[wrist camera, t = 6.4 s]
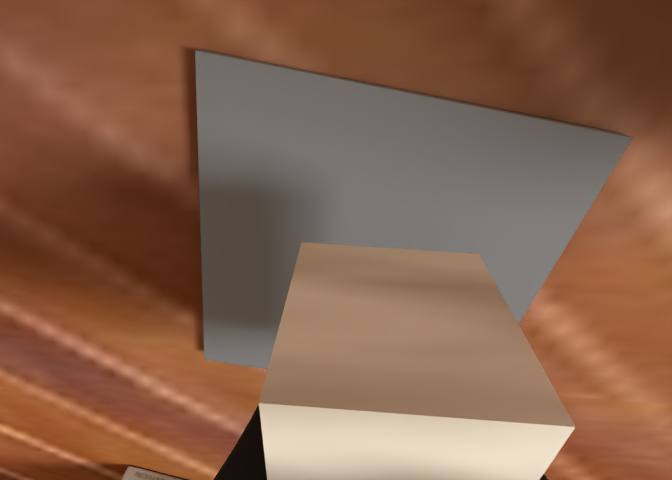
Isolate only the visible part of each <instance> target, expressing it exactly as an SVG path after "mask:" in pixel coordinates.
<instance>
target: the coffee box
mask: <svg viewBox="0 0 672 480" xmlns="http://www.w3.org/2000/svg"><path fill="white" fill-rule="evenodd" d="M121 480H183V479H180V478H176V477H172V476H168V475H164V474H160V473H157V472H153V471H149V470H145V469H141V468H137V467H133V466H128V468H127V469H126V471H125V473H124V475H123V477H122V478H121Z"/></svg>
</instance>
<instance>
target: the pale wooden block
mask: <svg viewBox="0 0 672 480" xmlns="http://www.w3.org/2000/svg"><path fill="white" fill-rule="evenodd" d="M259 410H260V419H261V428H262V437H263V446H264V455H265V464H266V473H267V480H540V478H541V477H542V475H543V474H544V472H545V471H546V470H547V468H548V467H549V465H550V464H551V462H552V461H553V459H554V458H555V456H556V455H557V453H558V452H559V450H560V449H561V447H562V446H563V445H564V443H565V442H566V440H567V439H568V437H569V436H570V434H571V433H572V431H573V430H574V428H575V426H574V424H573V422H572V420H571V418H570V417H569V415H568V413H567V411H566V409H565V408H564V406H563V404H562V402H561V400H560V399H559V397H558V395H557V393H556V391H555V390H554V388H553V386H552V384H551V382H550V381H549V379H548V377H547V375H546V373H545V372H544V370H543V368H542V366H541V364H540V363H539V361H538V359H537V357H536V355H535V354H534V352H533V350H532V348H531V346H530V345H529V343H528V341H527V339H526V338H525V336H524V334H523V332H522V330H521V329H520V327H519V325H518V323H517V321H516V320H515V318H514V316H513V314H512V312H511V311H510V309H509V307H508V305H507V303H506V302H505V300H504V298H503V296H502V294H501V293H500V291H499V289H498V287H497V285H496V284H495V282H494V280H493V278H492V276H491V275H490V273H489V271H488V269H487V267H486V266H485V264H484V262H483V260H482V258H481V257H480V255H479V254H472V253H457V252H442V251H427V250H412V249H396V248H381V247H366V246H351V245H335V244H320V243H305V242H301V246H300V250H299V254H298V257H297V261H296V265H295V269H294V273H293V276H292V280H291V284H290V288H289V291H288V295H287V299H286V303H285V306H284V310H283V314H282V318H281V321H280V325H279V329H278V333H277V336H276V340H275V344H274V348H273V351H272V355H271V359H270V363H269V366H268V370H267V374H266V378H265V381H264V385H263V389H262V393H261V396H260V400H259Z"/></svg>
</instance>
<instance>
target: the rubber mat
mask: <svg viewBox="0 0 672 480" xmlns="http://www.w3.org/2000/svg"><path fill="white" fill-rule="evenodd" d="M195 64H196V98H197V131H198V165H199V199H200V232H201V266H202V299H203V333H204V359H206V360H212V361H218V362H224V363H231V364H237V365H243V366H249V367H256V368H262V369H268V366H269V363H270V359H271V355H272V351H273V348H274V344H275V340H276V336H277V333H278V329H279V325H280V321H281V318H282V314H283V310H284V306H285V303H286V299H287V295H288V291H289V288H290V284H291V280H292V276H293V273H294V269H295V265H296V261H297V257H298V254H299V250H300V246H301V242H305V243H320V244H335V245H351V246H366V247H381V248H396V249H412V250H427V251H442V252H457V253H472V254H479V255H480V257H481V258H482V260H483V262H484V264H485V266H486V267H487V269H488V271H489V273H490V275H491V276H492V278H493V280H494V282H495V284H496V285H497V287H498V289H499V291H500V293H501V294H502V296H503V298H504V300H505V302H506V303H507V305H508V307H509V309H510V311H511V312H512V314H513V316H514V318H515V320H516V321H517V323H518V324H519V322H520V321H521V319H522V317H523V316H524V314H525V313H526V311H527V309H528V308H529V306H530V304H531V303H532V301H533V299H534V298H535V296H536V295H537V293H538V291H539V290H540V288H541V286H542V285H543V283H544V282H545V280H546V278H547V277H548V275H549V273H550V272H551V270H552V269H553V267H554V265H555V264H556V262H557V260H558V259H559V257H560V255H561V254H562V252H563V251H564V249H565V247H566V246H567V244H568V242H569V241H570V239H571V238H572V236H573V234H574V233H575V231H576V229H577V228H578V226H579V225H580V223H581V221H582V220H583V218H584V216H585V215H586V213H587V211H588V210H589V208H590V207H591V205H592V203H593V202H594V200H595V198H596V197H597V195H598V194H599V192H600V190H601V189H602V187H603V185H604V184H605V182H606V181H607V179H608V177H609V176H610V174H611V172H612V171H613V169H614V167H615V166H616V164H617V163H618V161H619V159H620V158H621V156H622V154H623V153H624V151H625V150H626V148H627V146H628V145H629V143H630V141H631V140H632V137H629V136H627V135H624V134H621V133H616V132H611V131H606V130H601V129H596V128H591V127H586V126H581V125H576V124H571V123H566V122H561V121H556V120H551V119H546V118H541V117H536V116H531V115H526V114H521V113H516V112H511V111H506V110H501V109H496V108H491V107H486V106H481V105H476V104H471V103H466V102H461V101H456V100H451V99H446V98H441V97H436V96H431V95H426V94H421V93H416V92H411V91H406V90H401V89H396V88H391V87H386V86H381V85H376V84H371V83H366V82H361V81H356V80H351V79H346V78H341V77H336V76H331V75H326V74H321V73H316V72H311V71H306V70H301V69H296V68H291V67H286V66H281V65H276V64H271V63H266V62H261V61H256V60H251V59H246V58H241V57H236V56H231V55H225V54H220V53H215V52H210V51H205V50H195Z"/></svg>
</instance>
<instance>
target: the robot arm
mask: <svg viewBox="0 0 672 480" xmlns="http://www.w3.org/2000/svg"><path fill="white" fill-rule="evenodd" d="M214 480H267V473H266V464H265V455H264V446H263V437H262V428H261V419H260V410H259V405H258V407H257V409H256V411H255V412H254V414H253V416H252V418H251V420H250V422H249V423H248V425H247V427H246V428H245V430H244V432H243V434H242V435H241V437H240V439H239V440H238V442H237V444H236V446H235V447H234V449H233V450H232V452H231V454H230V455H229V457H228V458H227V460H226V461H225V463H224V464H223V466H222V467H221V469H220V471H219V472H218V474H217V475H216V477H215V478H214ZM540 480H548V479H547V477H546V476H545V475H544V474H543V475H542V477H541V478H540Z"/></svg>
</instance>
